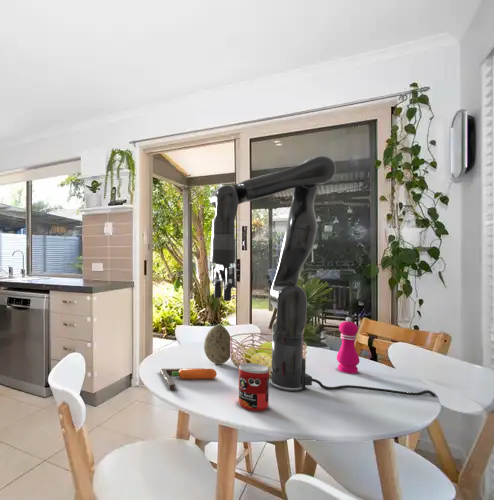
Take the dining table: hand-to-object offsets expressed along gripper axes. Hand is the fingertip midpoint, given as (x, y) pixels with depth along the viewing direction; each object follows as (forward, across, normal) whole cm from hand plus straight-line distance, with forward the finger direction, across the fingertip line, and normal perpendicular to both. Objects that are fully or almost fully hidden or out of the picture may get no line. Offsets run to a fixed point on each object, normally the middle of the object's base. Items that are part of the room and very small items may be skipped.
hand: (222, 299), depth 120 cm
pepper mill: (+28, +15, -54) cm, 63 cm away
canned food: (+28, -15, -4) cm, 32 cm away
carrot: (+28, +8, +5) cm, 30 cm away
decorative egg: (+28, +25, -8) cm, 39 cm away
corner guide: (+28, +5, +9) cm, 30 cm away
